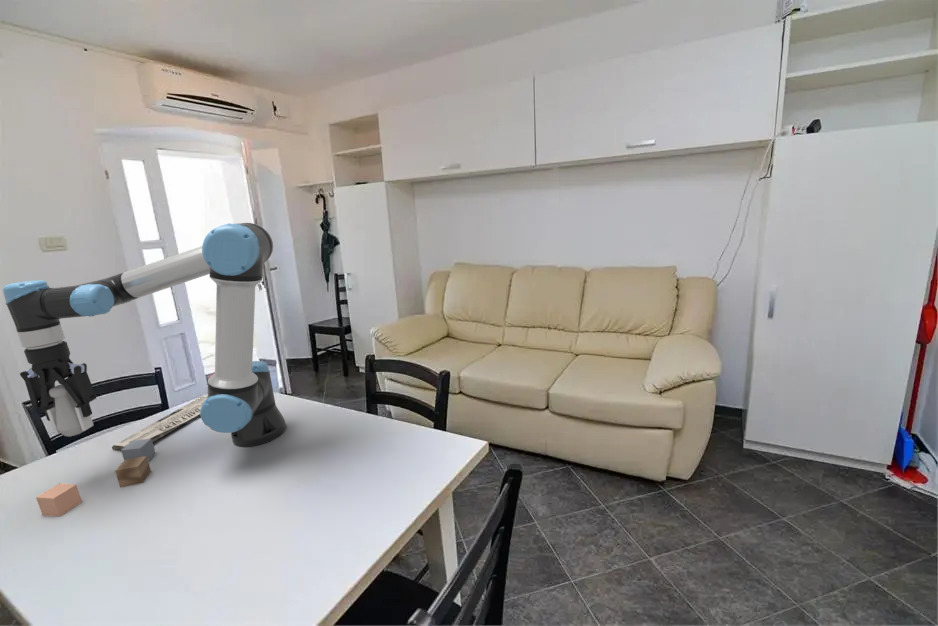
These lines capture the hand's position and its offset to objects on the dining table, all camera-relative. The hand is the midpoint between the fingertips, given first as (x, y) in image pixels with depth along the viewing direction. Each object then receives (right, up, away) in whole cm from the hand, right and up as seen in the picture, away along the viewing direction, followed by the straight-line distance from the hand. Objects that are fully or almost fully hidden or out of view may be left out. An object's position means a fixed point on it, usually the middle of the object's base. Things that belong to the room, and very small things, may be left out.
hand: (74, 429), depth 107 cm
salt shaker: (0, -1, 0) cm, 1 cm away
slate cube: (+8, -12, +12) cm, 19 cm away
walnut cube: (+14, -14, +3) cm, 20 cm away
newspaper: (+3, -8, +33) cm, 34 cm away
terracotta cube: (+4, -17, -7) cm, 19 cm away
